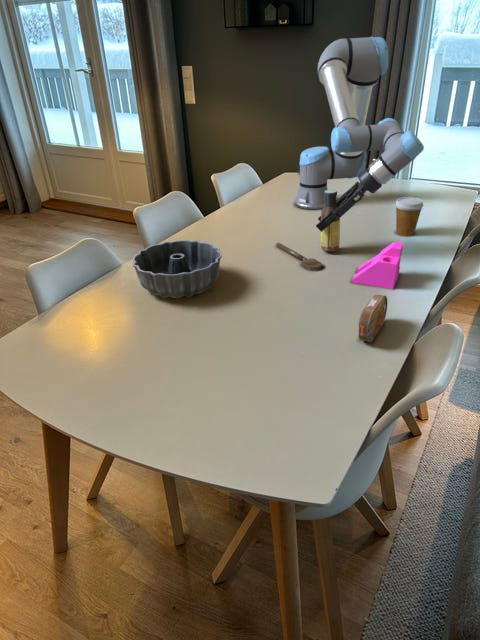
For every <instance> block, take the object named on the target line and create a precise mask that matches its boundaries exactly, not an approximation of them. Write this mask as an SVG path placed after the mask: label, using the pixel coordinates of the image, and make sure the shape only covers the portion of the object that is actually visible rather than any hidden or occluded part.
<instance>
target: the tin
mask: <svg viewBox="0 0 480 640" xmlns="http://www.w3.org/2000/svg"><path fill="white" fill-rule="evenodd" d="M387 310H388V297H387V296H386V295H381V294H374V295H373V296H372V297H371V299H369V301H368V303H367V304H366V305H365V306H364V308H363V309H362V312H361V314H360V316H359V319H358V320H359V321H358V339H359V340H361V341H363V342H364V341H365V342H368V343H372V342H373V341H374V339H375V337H376V336H377V334H378V333H379V332H380V330H381V329H382V327H383V325H384V322H385V320H386V316H387V312H388V311H387Z"/></svg>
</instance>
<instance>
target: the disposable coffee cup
mask: <svg viewBox="0 0 480 640" xmlns="http://www.w3.org/2000/svg"><path fill="white" fill-rule="evenodd" d="M395 207H396V209H395V214H396V215H395V219H396V220H395V234H397V235H398V236H402V237H410V236H414V235H415V232H416V228H417V225H418V222H419V218H420V215H421V211H422V209H423V207H424V201H423V199H420V198H418V197H411V196H405V197H403V196H402V197H399V198H398V199H397V200H396V202H395Z"/></svg>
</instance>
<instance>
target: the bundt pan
mask: <svg viewBox="0 0 480 640" xmlns="http://www.w3.org/2000/svg"><path fill="white" fill-rule="evenodd" d="M220 249H221V248H220V247H217V246H215V245H214V244H213V243H210V242H204V241H200V240H187V239H179V240H174V241H164V242H162V243H155V244H152V245H150V246H149V245H148V246H147V247H146V248H145V249H140V250H139V251H138V253H137V254H135V255H134V256H133V257H132V267H133V268H134V269H135V270H134V271H135V273H136V275H137V278H138V281H139V283H140V285H141V286H142V288H144V289H145V290H146V291H148V292H149V294H151V295H154V296H159V297H161V298H162V299H167V298H169V297H170V298H172V299H181V298H182V297H184V296H185V297H187V298H191V297H192V296H193V295H199V294H202V293H204V292H206V290H209V289H211V288H212V287H213V286H214V285H215V284H216V280H217V279H218V277H219V272H220V265H221V264H220V263H221V259H222V257H223V254H222V252H221V251H220Z"/></svg>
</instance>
